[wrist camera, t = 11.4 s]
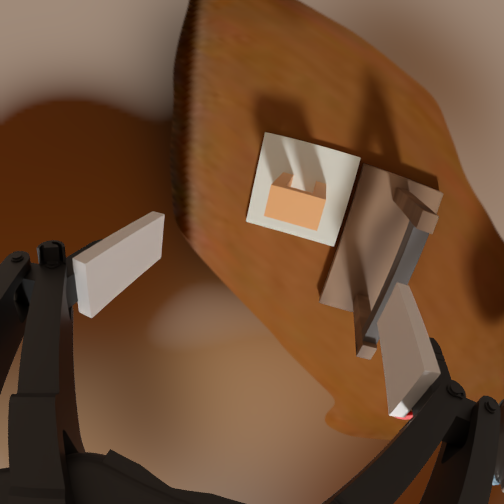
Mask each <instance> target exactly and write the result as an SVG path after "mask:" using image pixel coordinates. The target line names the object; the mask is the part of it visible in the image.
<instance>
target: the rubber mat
mask: <svg viewBox="0 0 504 504" xmlns="http://www.w3.org/2000/svg"><path fill="white" fill-rule="evenodd" d="M360 159H361V158H360V157H357V156H354V155H351V154H348V153H344V152H341V151H338V150H334V149H331V148H327V147H324V146H320V145H316V144H313V143H309V142H305V141H301V140H297V139H293V138H289V137H285V136H281V135H276V134H272V133H268V132H265V135H264V139H263V144H262V148H261V153H260V158H259V162H258V167H257V172H256V177H255V181H254V186H253V191H252V196H251V200H250V205H249V210H248V215H247V219H246V222H250V223H253V224H257V225H260V226H264V227H267V228H271V229H275V230H278V231H282V232H285V233H289V234H292V235H296V236H299V237H303V238H306V239H309V240H313V241H316V242H320V243H323V244H326V245H330V246H333V247H334V245H335V242H336V239H337V236H338V233H339V230H340V227H341V223H342V220H343V217H344V214H345V211H346V207H347V204H348V201H349V198H350V194H351V191H352V187H353V184H354V181H355V177H356V174H357V170H358V166H359V163H360ZM283 172H285V173H289V174H293V175H294V176H293V180H292V184H291V187H293V188H297V189H300V190H304V191H307V192H311V193H313V191H314V187H315V183H316V181H318V182H321V183H325V184H326V202H325V206H324V209H323V212H322V216H321V219H320V223H319V226H318V229H317V231H315V230H312V229H308V228H305V227H301V226H298V225H294V224H291V223H287V222H284V221H280V220H277V219H273V218H269V217H266V216H264V213H265V209H266V204H267V200H268V196H269V191H270V187H271V184H272V183H273V182H274V181H275V180H276V179H277V178H278V177H279V176H280V175H281V174H282V173H283Z"/></svg>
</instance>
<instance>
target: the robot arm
mask: <svg viewBox="0 0 504 504" xmlns="http://www.w3.org/2000/svg"><path fill="white" fill-rule="evenodd" d="M163 226H164V214H161V213H157V212H154V211H153V212H151V213H149V214H147V215H145V216H144V217H142V218H140V219H138V220H136V221H135V222H133V223H131V224H129V225H128V226H126V227H124V228H122V229H120V230H119V231H117V232H115V233H114V234H112V235H110V236H108V237H107V238H105V239H101V240H97V241H94V242H92V243H90V244H88V245H86V247H83V248H81V249H80V250H78V251H77V252H75V253H73V254H72V255H70V256H68V257H67V258H66V256H65V246H64V244H63V243H62V242H60V241H54V240H53V241H46V242H43V243H41V244H40V245H39V246H38V247H37V253H38V260H39V264H35V263H31V262H30V256H29V254H28V253H27V252H23V251H17V252H13V253H12V254H10V255H8V256H7V257H6V258H5V259H4V261H3V262H2V263H1V264H0V394H1V391H2V388H3V385H4V382H5V380H6V377H7V374H8V372H9V369H10V366H11V364H12V362H13V359H14V357H15V354H16V352H17V349H18V347H19V345H20V343H21V340H22V338H23V336H24V338H23V345H22V352H21V360H20V369H19V381H18V391H17V394H12V395H11V397H10V400H9V416H8V419H9V420H8V445H9V446H8V447H9V468H3V469H0V504H245V503H241V502H238V501H234V500H231V499H227V498H224V497H221V496H217V495H214V494H210V493H201V492H194V491H187V490H181V489H175V488H171V487H169V486H168V485H167V484H165V483H164V482H162V481H161V480H160V479H158V478H157V477H156V476H154V475H153V474H151V473H150V472H149V471H148V470H146V469H145V468H144V467H142V466H141V465H140V464H137V463H135V462H133V461H131V460H129V459H128V458H126V457H124V456H122V455H120V454H118V453H116V452H114V451H112V450H111V449H110V451H109V452H108V453H107V455H103V454H97V453H88V452H85V449H84V447H83V443H82V440H81V436H80V429H79V422H78V413H77V405H76V394H75V380H74V361H73V308H72V306H73V305H74V304H75V303H76V302H77V301H78V307H79V312H80V313H82V314H84V315H86V316H88V317H90V318H92V317H94V316H95V315H96V314H97V313H98V312H99V311H100V310H101V309H102V308H103V307H105V306H106V305H107V304H108V303H109V302H110V301H111V300H113V299H114V298H115V297H116V296H117V295H118V294H119V293H120V292H122V291H123V290H124V289H125V288H126V287H127V286H128V285H130V284H131V283H132V282H133V281H134V280H135V279H137V278H138V277H139V276H140V275H141V274H142V273H144V272H145V271H146V270H147V269H148V268H149V267H151V266H152V265H153V264H154V263H155V262H156V261H158V260H159V259H160V258H161V251H162V238H163ZM377 326H378V332H379V338H380V344H381V351H382V358H383V365H384V373H385V381H386V390H387V400H388V411H389V416H395V417H403V418H404V417H405V416H406V415H407V414H408V413H409V412H410V411H411V409H412V412H413V417H412V418H411V419H410V420H409V421H408V422H407V424H406V425H405V426H404V427H403V428H402V429H401V430H400V432H399V433H398V434H397V435H396V436H395V437H394V438H393V439H392V440H391V441H390V443H389V444H388V445H387V446H386V447H385V448H384V449H383V450H382V451H381V452H380V453H379V454H378V455H377V456H376V457H375V458H374V459H373V460H372V461H371V462H370V463H369V464H368V465H367V466H366V467H364V468H363V469H362V470H361V471H360V472H359V473H358V474H357V475H356V476H354V477H353V478H352V479H351V480H350V481H349V482H348V483H347V484H345V485H344V486H343V487H342V488H341V489H339V490H338V491H337V492H336V493H335V494H333V495H332V496H331V497H330V498H328V499H327V500H326V501H324V502H323V503H322V504H393V503H394V502H395V501H396V500H397V499H398V498H399V497H400V495H401V494H402V493H403V492H404V491H405V489H406V488H407V487H408V486H409V485H410V483H411V482H412V481H413V480H414V478H415V477H416V475H417V474H418V473H419V472H420V470H421V469H422V468H423V466H424V465H425V464H426V462H427V461H428V459H429V458H430V457H431V455H432V454H433V452H434V451H435V449H436V448H437V446H438V445H439V443H440V442H441V441H442V444H441V448H440V451H439V454H438V457H437V460H436V463H435V466H434V468H433V471H432V474H431V477H430V480H429V482H428V484H427V487H426V489H425V492H424V494H423V497H422V499H421V501H420V503H419V504H488V501H489V497H490V493H491V488H492V485H498V484H501V489H502V492H504V399H503V400H502V401H501V402H500V403H499V404H498V403H497V402H496V400H495V399H493V398H491V397H489V396H483V397H481V398H480V399H479V401H478V402H477V403H476V402H474V401H472V400H469V399H467V398H466V394H465V391H464V389H463V387H462V386H461V385H460V384H459V383H457V382H456V381H454V380H451V377H450V374H449V371H448V368H447V365H446V362H445V359H444V356H443V355H442V351H441V348H440V346H439V345H438V343H437V342H436V341H435V339H434V338H430V337H429V336H428V333H427V331H426V328H425V325H424V322H423V320H422V317H421V315H420V312H419V309H418V307H417V304H416V302H415V299H414V297H413V294H412V292H411V290H410V287H409V286H408V285H405V284H401V283H398V282H397V283H396V285H395V287H394V289H393V291H392V294H391V296H390V298H389V300H388V302H387V304H386V306H385V308H384V310H383V312H382V314H381V316H380V318H379V320H378V322H377Z"/></svg>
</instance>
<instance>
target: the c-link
mask: <svg viewBox="0 0 504 504" xmlns="http://www.w3.org/2000/svg"><path fill="white" fill-rule="evenodd" d="M293 176H294V175H293V174H289V173H285V172H283V173H282V174H281V175H280V176H279V177H278V178H277V179H276V180H275V181H274V182H273V183H272V184H271V187H270V191H269V196H268V200H267V204H266V209H265V213H264V216H266V217H269V218H273V219H277V220H280V221H284V222H287V223H291V224H294V225H298V226H301V227H305V228H308V229H312V230H315V231H317V229H318V226H319V223H320V219H321V216H322V212H323V209H324V206H325V202H326V184H325V183H321V182H318V181H316V183H315V187H314V191H313V193H311V192H307V191H304V190H300V189H297V188H293V187H291V184H292V180H293Z"/></svg>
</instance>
